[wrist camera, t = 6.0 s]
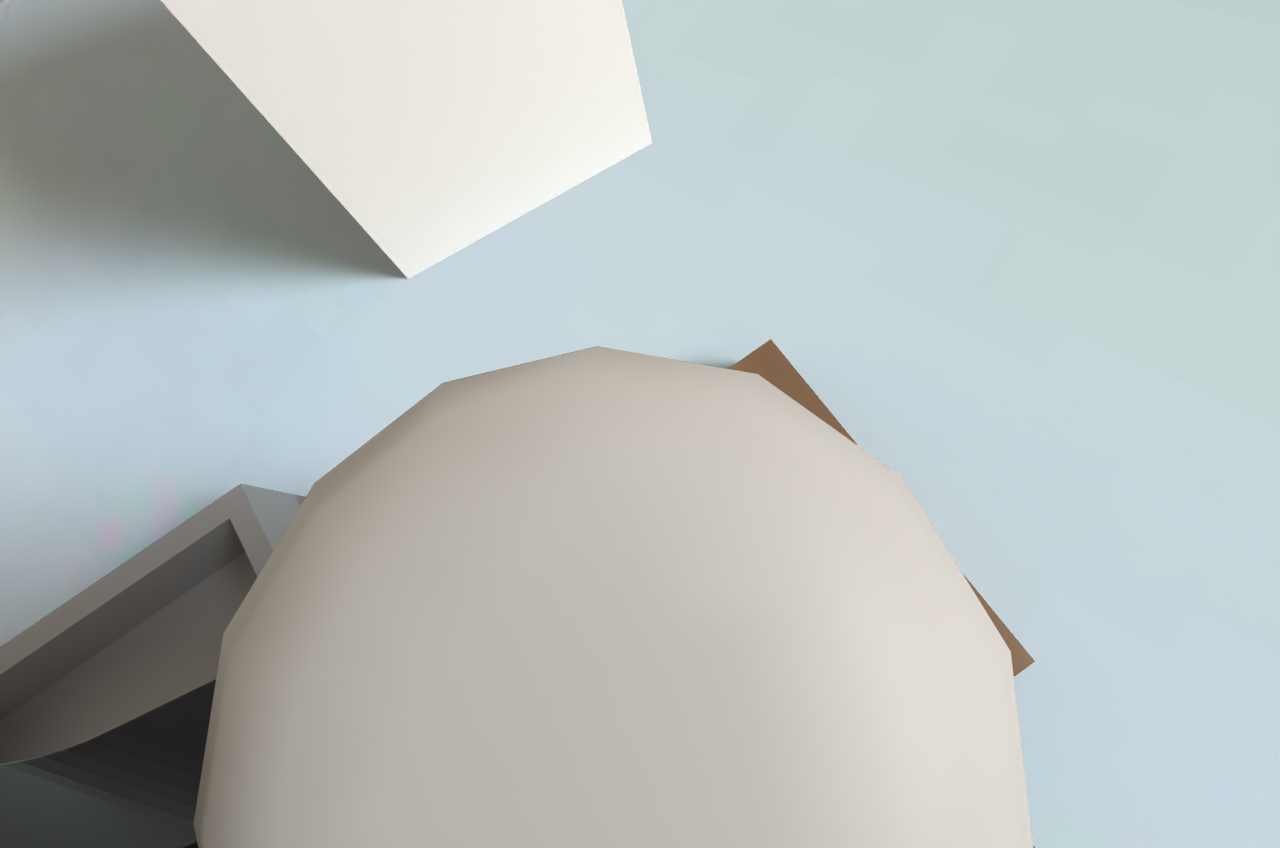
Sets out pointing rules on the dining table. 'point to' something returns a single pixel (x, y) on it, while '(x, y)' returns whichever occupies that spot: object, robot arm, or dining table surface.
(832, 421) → the brown flat square frame
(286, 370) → the dining table surface
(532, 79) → the milk
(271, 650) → the salt shaker
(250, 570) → the bin
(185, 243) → the dining table surface
